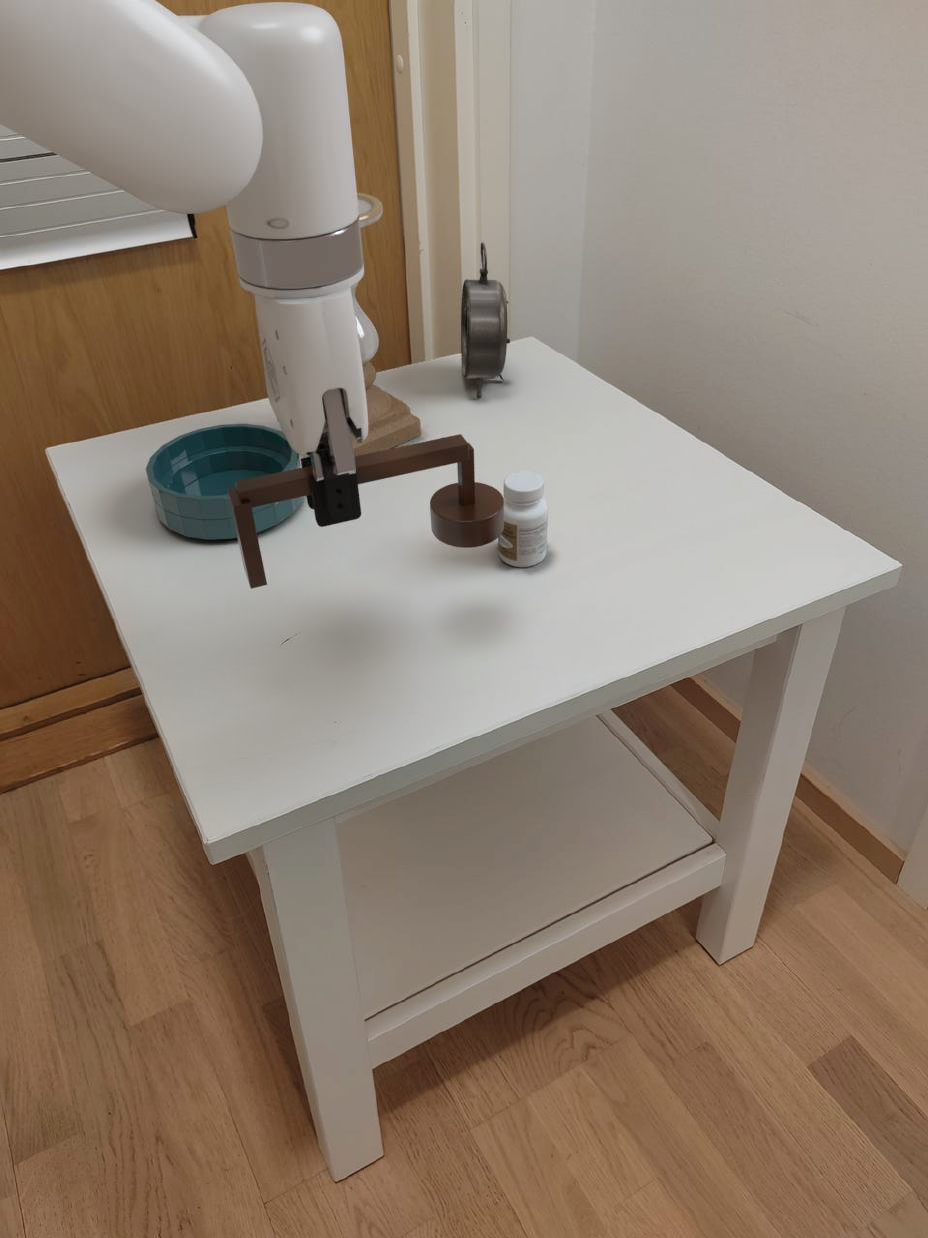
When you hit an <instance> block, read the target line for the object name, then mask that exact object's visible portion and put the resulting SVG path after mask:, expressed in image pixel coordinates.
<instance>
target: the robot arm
mask: <svg viewBox="0 0 928 1238" xmlns="http://www.w3.org/2000/svg"><path fill="white" fill-rule="evenodd" d="M342 40H343V39H342V34H341V31H340V28H339V25H338V23H337V21H336V20H335V19H334V18H333V16H332V14H330V13H329V12H328V11H327V10H326V9H324V8H323V7H319V6H317V5H314V4H309V3H304V2H303V3H302V2H289V1H287V2H286V1H275V2H274V1H271V2H258V3H257V2H255V3H246V4H239V5H236V6H235V5H234V6H230V7H225V8H221V9H218V10H216V11H214V12H212V13H210V14H202V15H200V14H199V15H177V14H175V13H174V12H173V11H171V10H170V9H168V8H166V6H164V5H163V4H161V3H160V2H158V1H157V0H0V125H1V126H3V127H5V128H7V129H9V130H10V131H13V132H14V133H16V134H17V135H20V136H21V137H23V138H25V139H27V140H29V141H31V142H33V143H34V144H37V145H38V146H40V147H42V148H44V149H46V150H48V151H50V152H51V153H53V154H55V155H57V156H58V157H61V158H62V159H65V160H67V161H69V162H70V163H72V164H73V165H75V166H78V167H80V168H81V169H83V170H85V171H87V172H88V173H91V174H93V175H94V176H96V177H97V178H100V179H102V180H104V181H106V182H107V183H109V184H111V185H113V186H115V187H117V188H118V189H120V190H122V191H124V192H126V193H128V194H129V195H132V196H133V197H135V198H137V199H139V200H140V201H142V202H145V203H146V204H148V205H150V206H153V207H154V208H156V209H160V210H162V211H165V212H171V213H176V214H181V215H186V214H187V215H189V214H190V215H195V214H202V213H207V212H212V211H215V210H217V209H219V208H222V207H223V206H225V210H226V216H227V221H228V225H229V231H230V236H231V243H232V249H233V252H234V253H233V254H234V258H235V259H234V260H235V265H236V270H237V276H238V281H239V282H238V283H239V285H240V287H241V288H242V289H243V290H244V291H246V292H248V293H251V294H252V295H254V304H255V313H256V314H255V315H256V322H257V329H258V336H259V343H260V350H261V356H262V357H261V358H262V366H263V374H264V381H265V388H266V394H267V397H268V398H267V399H268V402H269V404H270V407H271V409H272V412H273V413H274V415H275V418H276V420H277V422H278V424H279V426H280V428H281V430H282V432H283V433H284V434H285V436H286V438H287V440H288V442H289V444H290V446H291V447H292V449H293V450H294V451H295V452H297V453H298V454H299V456H303V457H301V458H300V466H301V468H302V467H307V466H312V470H313V474H312V475H309V480H310V487H311V493H312V495H308V496H305V497H306V502H307V505H308V507H309V509H311V510H313V512H314V518H315V522H316V524H317V526H319V527H320V528H324V527H325V528H326V527H329V526H333V525H338V524H342V523H345V522H351V521H355V520H359V519H360V518H361V516H362V508H361V501H360V500H361V498H360V489H359V484H358V481H357V472H356V466H355V458H354V449H353V440H352V433H353V435H354V436H355V438H356V440H357V441H358V442H359V443H362V442H363V441H364V440H365V439H366V437H367V435H368V412H367V401H366V392H365V383H364V374H363V367H362V359H361V352H360V345H359V338H358V331H357V320H356V318H355V312H354V305H353V299H352V293H351V286H353V285H355V284H356V283H357V282H358V283H359V282H360V281H361V280H362V279H363V278H364V276H365V275H364V274H365V262H364V252H363V242H362V232H361V228H360V220H359V210H358V199H357V193H358V190H357V180H356V168H355V159H354V158H355V157H354V148H353V138H352V128H351V127H352V126H351V118H350V105H349V96H348V86H347V85H348V84H347V75H346V74H347V73H346V65H345V63H346V62H345V54H344V46H343V41H342ZM305 456H307V457H305Z"/></svg>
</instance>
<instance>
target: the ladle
mask: <svg viewBox="0 0 928 1238" xmlns="http://www.w3.org/2000/svg"><path fill="white" fill-rule="evenodd" d="M354 458H355V466H356V472H357V481H358V485H362V484H367V483H371V482H372V483H373V482H375V481H380V480H385V479H390V478H394V477H399V476H403V475H409V474H412V473H413V474H414V473H417V472H421V471H426V470H430V469H431V470H432V469H435V468H440V467H444V466H448V465H453V464H457V465H456V466H457V468H456V469H457V482H454V483H451V484H447V485H445V486H443V487H441V488H439V489H438V490H436V491H435V492H434V493H433V495H432V496H431V497H430V500H429V511H430V526H431V527H430V528H431V532H432V534H433V536H434V537H435V539H437V540H438V541H439V542H440V543H443V544H445V545H447V546H451V547H454V548H462V549H469V548H470V549H473V548H479V547H484V546H486V545H488V544H491V543H494V541H496V540H498V537H499V536H500V535H501V534H502V532H503V529H504V498H503V497H504V495H503V494H502V493H501V491H499V490H498V489H497V488H495V487H493V486H492V485H490V484H486V483H483V482H479V481H476V477H475V476H476V475H475V449H474V447H473V446H472V444H471V443H470V442H468V441H467V440H466V439H465V437H464V436H463V435H462V434H461V433H459V434H454V435H450V436H445V437H440V438H436V439H430V440H426V441H421V442H417V443H411V444H406V445H401V446H396V447H392V448H390V449H388V450H383V451H378V452H373V453H369V454H364V455H359V456H354ZM312 474H313V470H312V466H307V467H302V466H301V468H298V469H293V470H288V471H283V472H279V473H274V474H269V475H265V476H260V477H255V478H250V479H246V480H241V481H236V482H235V485H236V487H235V488H231V489H227V492H228V497H229V501H230V506H231V511H232V515H233V520H234V524H235V529H236V533H237V542H238V546H239V551H240V556H241V560H242V564H243V570H244V573H245V576H246V579H247V582H248V585H249V588H250V589H252V590H253V589H255V588H260V587H263V586H267V585H268V582H267V577H266V572H265V571H266V570H265V566H264V561H263V557H262V552H261V547H260V543H259V537H258V533H257V532H256V527H255V522H254V517H253V512H252V508H253V507H258V506H262V505H267V504H271V503H276V502H281V501H285V500H290V499H294V498H299V497H302V498H303V497H306V496H308V495H312V493H311V487H310V480H309V475H312Z"/></svg>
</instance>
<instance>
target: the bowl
mask: <svg viewBox="0 0 928 1238" xmlns="http://www.w3.org/2000/svg"><path fill="white" fill-rule="evenodd" d="M298 468H302V466H301V459H300V454H298V453H297V452H295V451H294V450H293V449H292V447H291V446H290V444H289V442H288V440H287V438H286V436H285V434H284V432H283V431H281V430H278V429H275V428H272V427H269V426H266V425H260V424H252V423H227V424H226V423H225V424H217V425H213V426H207V427H202V428H197V429H195V430H192V431H189V432H186V433H184V434H181V435H178V436H177V437H175V438H173V439H171V440H169V441H167V442H166V443H164V444H162V445H161V446H160V447H159V448H158V449H157V450H156V451H155V452H154V453H153V454H151V455H150V457H149V460H148V461H147V465H146V467H145V472H146V477H147V481H148V485H149V488H150V493H151V495H152V500H153V503H154V506H155V510H156V513H157V517H158V520H159V521H160V522H161V523H162V524H163V525H164V526H165V527H166V528H168V530H170V531H172V532H174V533H177V534H178V535H182V536H184V537H188V538H194V539H201V540H208V541H209V540H228V539H236V538H237V533H236V529H235V524H234V520H233V515H232V511H231V506H230V501H229V497H228V492H227V489H231V488H235V487H236V485H235V482H236V481H241V480H246V479H250V478H255V477H260V476H265V475H269V474H274V473H279V472H283V471H288V470H293V469H298ZM302 501H303V497H299V498H294V499H290V500H285V501H281V502H276V503H271V504H267V505H262V506H258V507H253V508H252V512H253V517H254V522H255V527H256V532H257V534H258V533H260V532H262V531H265V530H267V529H270V528H272V527H274V526H277V525H279V524H280V523H281V522H282V521H284V520H285V519H287V518H289V517H290V516H291V515H292V514H293V513H294V512H295V511H296V509H297V508H298V507H299V506H300V504H301V503H302ZM237 539H238V538H237Z"/></svg>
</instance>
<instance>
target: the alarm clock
mask: <svg viewBox="0 0 928 1238" xmlns="http://www.w3.org/2000/svg"><path fill="white" fill-rule="evenodd" d="M480 258H481V259H480V261H481V268H480V269H479V279H467V278H465V280H464V281H463V285H462V290H461V291H462V292H461V304H460V305H461V307H460V309H461V310H460V312H461V313H460V314H461V315H460V354H461V355H460V356H461V372H462V377H463V378H464V379H465V380H470V379H471V380H472V379H473V380H475V386H476V393H477V394H476V399H481V398H482V396H483V394H482V388H483V380H494V379H495V380H496V379H497V378H498V377H499V378H500V379H501V380H502V381H503V382H505V380H504V378H503V376H502V373H503V371H504V368H505V364H506V359H507V348H508V344H510V343H511V339H510V338H508V323H509V322H508V304H509V301H508V300H507V294H506V290H505V287H504V285H503V284H502V282H500V281H499V280H497V279H488V274H489V269H488V253H487V247H486V243H485V242H484V241H482V242H481V243H480Z"/></svg>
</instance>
